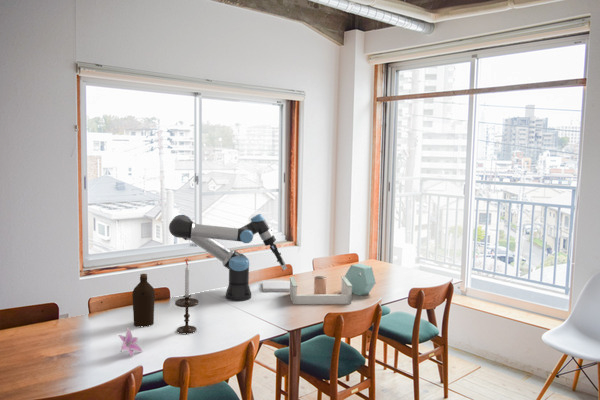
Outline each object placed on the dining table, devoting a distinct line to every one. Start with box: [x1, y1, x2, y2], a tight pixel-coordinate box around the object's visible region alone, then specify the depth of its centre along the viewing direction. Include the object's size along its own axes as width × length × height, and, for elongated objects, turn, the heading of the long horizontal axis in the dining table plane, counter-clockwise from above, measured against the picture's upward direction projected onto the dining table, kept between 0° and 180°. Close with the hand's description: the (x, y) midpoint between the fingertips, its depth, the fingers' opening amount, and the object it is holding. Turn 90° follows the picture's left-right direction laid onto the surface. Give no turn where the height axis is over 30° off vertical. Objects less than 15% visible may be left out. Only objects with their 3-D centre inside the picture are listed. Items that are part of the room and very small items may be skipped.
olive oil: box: [131, 273, 156, 328], centre depth 242 cm, size 11×11×25 cm
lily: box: [117, 327, 143, 357], centre depth 208 cm, size 12×12×10 cm
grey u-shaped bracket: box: [289, 276, 353, 305], centre depth 293 cm, size 35×20×11 cm, turn 96°
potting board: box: [261, 280, 290, 293], centre depth 314 cm, size 18×18×2 cm
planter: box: [344, 263, 376, 297], centre depth 307 cm, size 17×8×21 cm
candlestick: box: [174, 260, 199, 335], centre depth 234 cm, size 11×11×35 cm
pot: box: [313, 275, 327, 294], centre depth 292 cm, size 7×7×13 cm
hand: (284, 267), depth 305 cm, fingers open, 13 cm apart
